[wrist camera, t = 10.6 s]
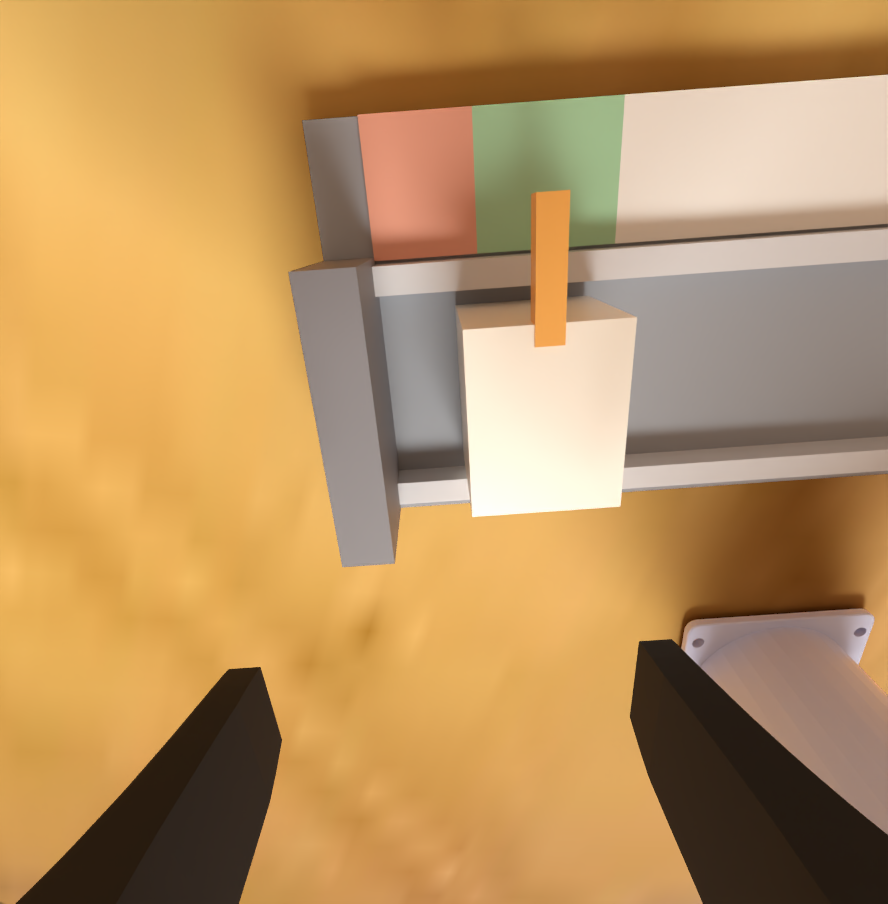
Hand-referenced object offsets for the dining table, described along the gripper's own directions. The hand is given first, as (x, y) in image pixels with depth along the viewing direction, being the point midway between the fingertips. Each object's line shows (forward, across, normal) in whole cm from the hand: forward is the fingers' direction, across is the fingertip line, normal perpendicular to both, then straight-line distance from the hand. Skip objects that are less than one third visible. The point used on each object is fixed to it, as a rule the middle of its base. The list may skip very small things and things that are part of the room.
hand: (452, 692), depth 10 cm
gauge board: (+10, -9, -5) cm, 14 cm away
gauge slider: (+9, -3, -5) cm, 10 cm away
